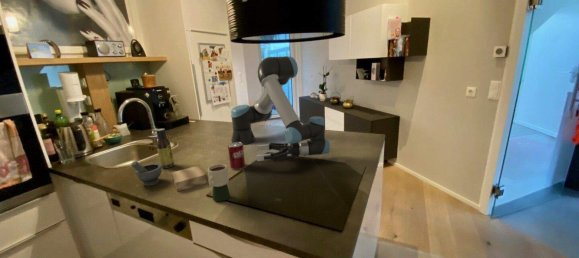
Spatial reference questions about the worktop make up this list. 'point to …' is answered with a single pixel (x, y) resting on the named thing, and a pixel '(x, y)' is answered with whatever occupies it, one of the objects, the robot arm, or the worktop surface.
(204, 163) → the worktop surface
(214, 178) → the character mug
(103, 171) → the worktop surface
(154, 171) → the mortar and pestle
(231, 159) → the soda can
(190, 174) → the oak block
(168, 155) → the sauce bottle
